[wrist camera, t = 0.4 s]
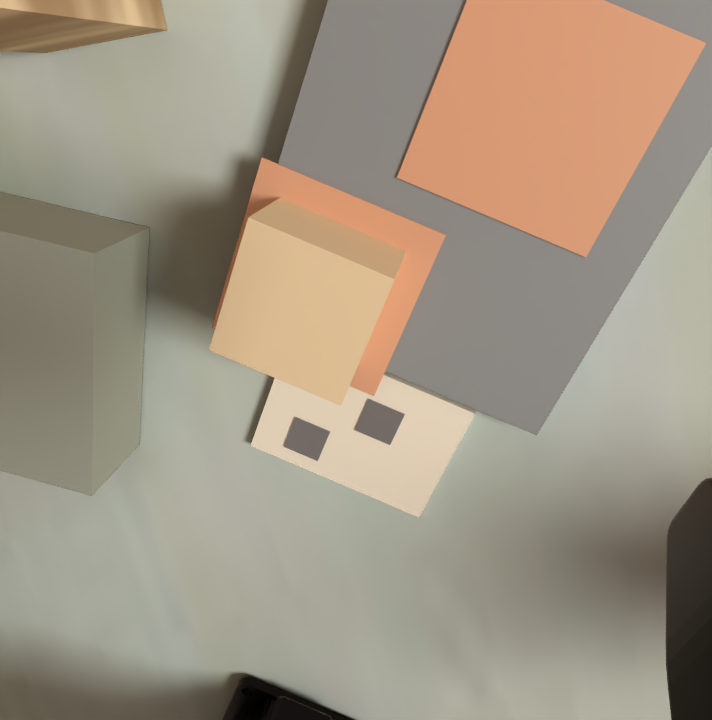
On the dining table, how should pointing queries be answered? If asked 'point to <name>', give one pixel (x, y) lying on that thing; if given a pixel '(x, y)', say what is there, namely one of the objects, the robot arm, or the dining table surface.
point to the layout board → (467, 194)
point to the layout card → (367, 437)
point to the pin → (74, 22)
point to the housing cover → (69, 342)
